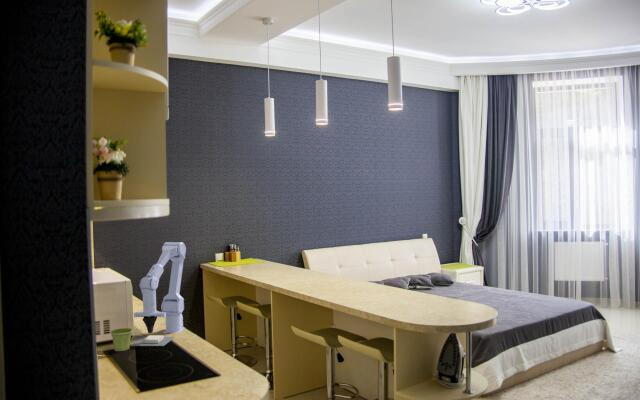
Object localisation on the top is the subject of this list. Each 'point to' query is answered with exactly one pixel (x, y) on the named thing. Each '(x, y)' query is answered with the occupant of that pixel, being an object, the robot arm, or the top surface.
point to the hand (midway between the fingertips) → (150, 332)
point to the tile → (153, 339)
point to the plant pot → (121, 338)
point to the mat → (161, 343)
